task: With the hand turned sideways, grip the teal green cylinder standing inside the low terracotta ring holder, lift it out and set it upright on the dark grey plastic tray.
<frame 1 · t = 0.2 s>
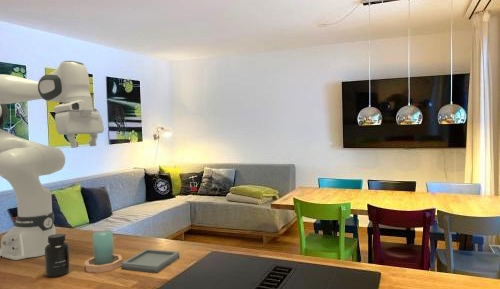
hand: (84, 146, 129), 39 cm above the kitchen counter, tool pointing down, fingers open, 8 cm apart
teal green cylinder: (103, 249, 121), in the holder
tray: (151, 263, 123), on the kitchen counter
holder: (104, 265, 122), on the kitchen counter
supplement bottle: (58, 274, 116), on the kitchen counter
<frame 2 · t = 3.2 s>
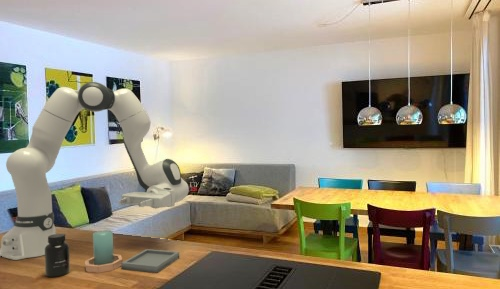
hand: (130, 203, 132), 18 cm above the kitchen counter, tool horizontal, fingers open, 8 cm apart
nothing on the kitchen counter moved.
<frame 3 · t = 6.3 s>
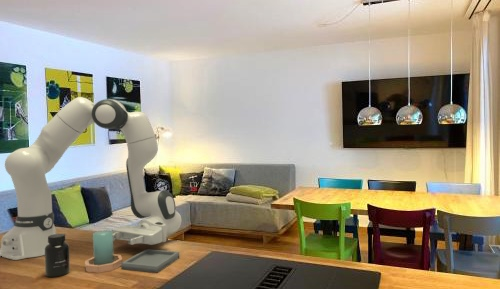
hand: (119, 240, 128), 6 cm above the kitchen counter, tool horizontal, fingers open, 8 cm apart
nothing on the kitchen counter moved.
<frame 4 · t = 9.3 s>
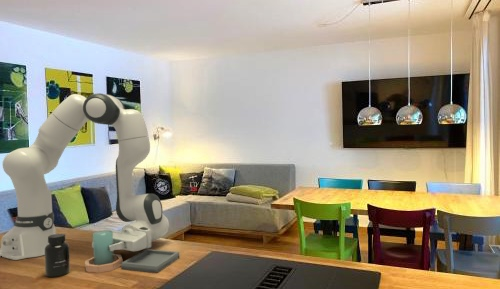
hand: (101, 247, 121), 7 cm above the kitchen counter, tool horizontal, fingers closed on teal green cylinder, 6 cm apart
teal green cylinder: (103, 249, 121), in the holder, touching gripper
everything else where it was.
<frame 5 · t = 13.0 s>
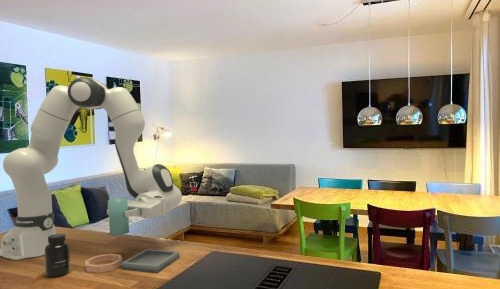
hand: (116, 213, 121), 17 cm above the kitchen counter, tool horizontal, fingers closed on teal green cylinder, 6 cm apart
teal green cylinder: (118, 216, 121), point 16 cm above the kitchen counter, touching gripper
everything else where it was.
when the fingers open (9 cm above the kitchen counter, at t = 16.6 s): teal green cylinder drops 1 cm, resting on tray.
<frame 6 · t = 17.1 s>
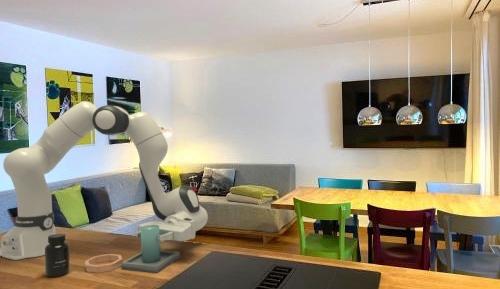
hand: (148, 237, 122), 9 cm above the kitchen counter, tool horizontal, fingers open, 8 cm apart
teal green cylinder: (150, 243, 123), in the tray, point 6 cm above the kitchen counter
everything else where it was.
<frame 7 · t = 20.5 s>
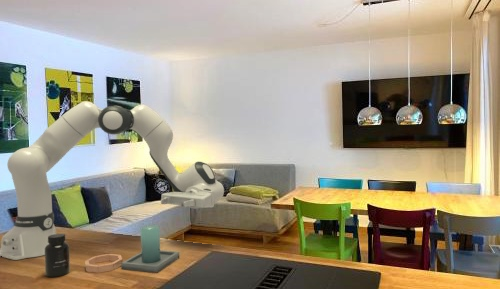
hand: (172, 203, 133), 18 cm above the kitchen counter, tool horizontal, fingers open, 8 cm apart
nothing on the kitchen counter moved.
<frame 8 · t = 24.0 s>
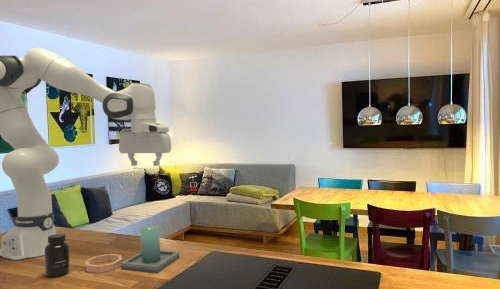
hand: (145, 165, 136), 31 cm above the kitchen counter, tool pointing down, fingers open, 8 cm apart
nothing on the kitchen counter moved.
at the end: teal green cylinder inside the target area on the tray (0.1 cm from its centre), point 6.5 cm above the tray's base; teal green cylinder tilted 0°; the gripper is holding nothing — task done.
